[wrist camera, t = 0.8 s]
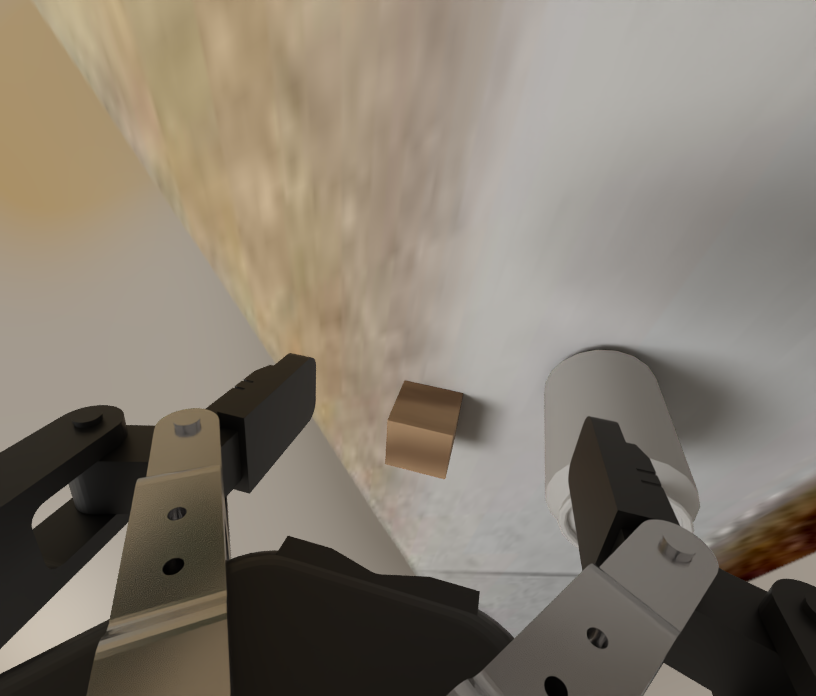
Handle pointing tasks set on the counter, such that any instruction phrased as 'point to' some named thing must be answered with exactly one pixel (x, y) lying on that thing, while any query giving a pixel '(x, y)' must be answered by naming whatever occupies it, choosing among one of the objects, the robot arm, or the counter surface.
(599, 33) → the counter surface
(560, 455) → the can
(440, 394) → the block
